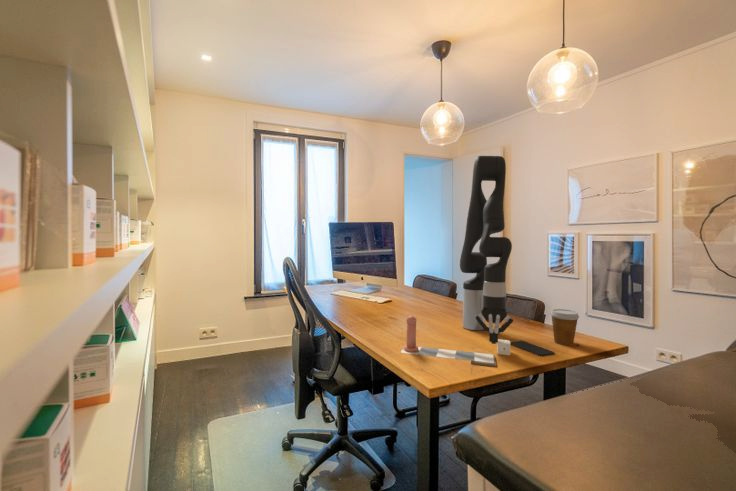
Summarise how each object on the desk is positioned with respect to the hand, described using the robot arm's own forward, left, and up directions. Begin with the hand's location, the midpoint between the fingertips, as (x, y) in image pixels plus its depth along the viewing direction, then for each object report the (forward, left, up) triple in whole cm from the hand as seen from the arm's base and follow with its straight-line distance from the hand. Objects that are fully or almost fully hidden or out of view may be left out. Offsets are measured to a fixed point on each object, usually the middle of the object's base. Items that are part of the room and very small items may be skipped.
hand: (493, 343), depth 121 cm
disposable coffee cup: (-19, +26, -3) cm, 33 cm away
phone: (-8, +13, -4) cm, 16 cm away
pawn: (+10, -27, -2) cm, 29 cm away
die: (0, +3, -3) cm, 5 cm away
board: (+10, -15, -3) cm, 19 cm away
